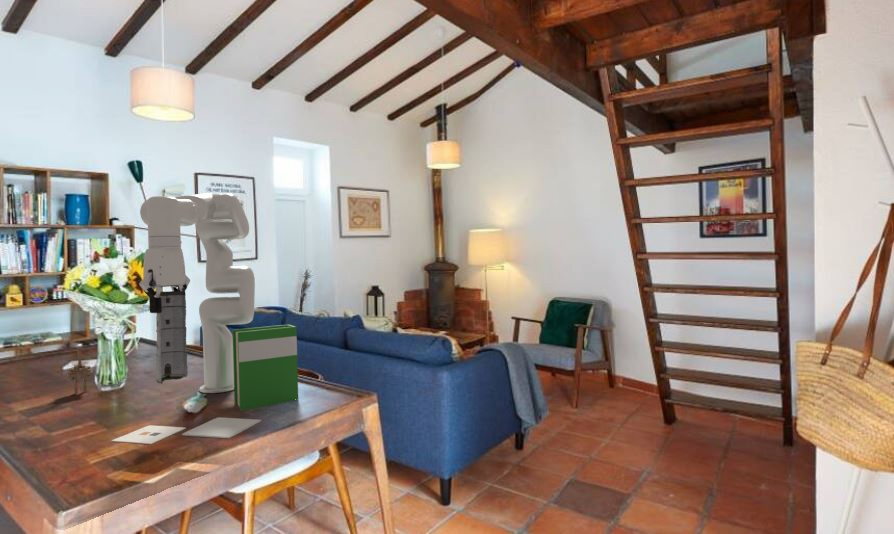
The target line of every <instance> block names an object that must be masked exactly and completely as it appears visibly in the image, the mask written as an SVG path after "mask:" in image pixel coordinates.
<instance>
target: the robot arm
mask: <svg viewBox="0 0 894 534" xmlns="http://www.w3.org/2000/svg"><path fill="white" fill-rule="evenodd" d="M139 214H140V219H141V220H142V222H143V223H144V224H145V225H146V226H147V240H148V241H147V243H148V245H147V246H148V248H147V249H146V250H145V253H144V258H143V259H144V260H143V273H142V274H143V275H142V279H141V280H140V282H139V284H138V285H139V286H140V288H141V289H142V290H143V292H144V293H145V295H146V298H147V299H148V298H149V299H148V300H149V304H148V305H149V313H150V314H156V313H161V312H162V303H161V297H159V295H160V292H161V291H162V289H163V288H164V287H165V288H167V287H170V289H171V291H182V288H185V291H187V289H188V286H189V284H190V283H191V279H190V278H189V277H188V275H186V267H185V266H186V263H185V259H184V258H185V257H184V253H183V249H182V244H183V243H182V237H181V227H188V226H189V227H191V226H193V225H195V231H196V233H197V236H198V237H199V239H200V242H201V243H202V245H203V248H204V250H205V253H206V264H205V288H206V290H207V292H208V293H210V294H217V295H218V294H221V295H223V294H224V295H225V294H239V296H219V297H218V296H217V297H215V296H214V297H209V298H205V299H204V300H202V301H201V303H199V307H198V315H199V320H200V323H201V329H202V331H201V332H202V345H203V346H202V349H203V355H202V356H203V377H204V378H203V379H204V380H203V383H204V384H202V385H200V387H199V392H200V393H205V394H217V393H225V392H231V391H234V368H233V333H232V332H231V331H230V329H228V327H227V326H228V325H230V326H231V325H246V324H249V323H251V322H253V320H254V316H255V297H256V295H255V293H256V291H255V290H256V289H255V288H256V283H255V273H254V270H253V269H252V268H251V267H249V266H246V265H237V266H236V265H235V266H233V264H234V263H233V259H234V258H233V257H234V254H233V251H232V249H231V248H230V246H229V245H228V244H227V243H226V242H225V240H242V239H245V238H247V237H248V235H249V233H250V223H249V220H248V217H247V215H246V213H245V210H244V208H243V206H242V204H241V201H240V200H239V198H238V197H237V196H236V195H235V194H233V193H228V192H227V193H224V192H223V193H221V192H220V193H217V192H216V193H213V192H211V193H206V192H205V193H198V194H197V193H196V194H186V195H180V196H179V195H178V196H165V195H164V196H162V195H159V196H158V195H157V196H150V197H149V198H148V199H146V200H144V201H143V203H142V204H141V205H140V210H139Z"/></svg>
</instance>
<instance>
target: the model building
mask: <svg viewBox="0 0 894 534" xmlns="http://www.w3.org/2000/svg"><path fill="white" fill-rule="evenodd" d="M186 295H187V294H186V290H185V288H182V291H172V290H171V291H162V290H161V292H160V295H159V297H161V303H162V312H161V313H155V314H156V316H155V318H156V330H155V331H156V353H155V356H156V358H155V360H156V363H155V364H156V370H155V371H156V372H155V374H156V377H155V381H156V382H157V383H158V384H163V382H164V381H169V380H181V379H182V378H186V377H188V375H189V374H188V368H189V367H188V352H187V326H186V325H187V324H186V323H187V321H186V320H187V301H186Z"/></svg>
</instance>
